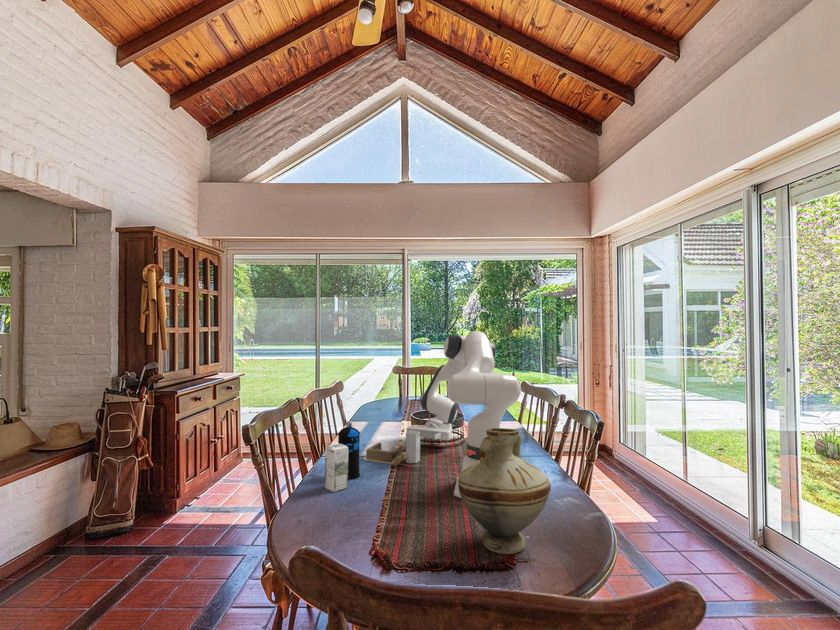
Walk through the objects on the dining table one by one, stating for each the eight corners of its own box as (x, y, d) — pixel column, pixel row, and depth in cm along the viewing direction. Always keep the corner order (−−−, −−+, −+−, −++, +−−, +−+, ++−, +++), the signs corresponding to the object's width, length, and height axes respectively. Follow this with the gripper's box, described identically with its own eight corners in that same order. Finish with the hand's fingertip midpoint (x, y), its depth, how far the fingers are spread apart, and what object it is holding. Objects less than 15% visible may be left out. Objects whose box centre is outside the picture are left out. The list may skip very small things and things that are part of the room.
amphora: (538, 527, 129) (531, 420, 132) (569, 565, 105) (559, 433, 108) (456, 533, 128) (450, 424, 131) (468, 572, 105) (460, 439, 107)
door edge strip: (395, 466, 178) (395, 461, 178) (393, 466, 179) (393, 460, 179) (410, 454, 193) (410, 450, 193) (408, 454, 193) (408, 449, 193)
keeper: (393, 464, 181) (393, 453, 181) (362, 460, 186) (362, 450, 186) (406, 454, 194) (406, 444, 194) (377, 450, 199) (377, 441, 199)
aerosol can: (332, 476, 167) (333, 421, 167) (350, 470, 173) (350, 418, 173) (346, 481, 161) (347, 425, 161) (364, 475, 168) (364, 421, 168)
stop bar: (416, 463, 181) (416, 433, 181) (405, 462, 183) (406, 432, 183) (420, 460, 185) (420, 431, 185) (410, 459, 187) (410, 430, 187)
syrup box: (338, 483, 159) (338, 442, 159) (348, 488, 155) (348, 446, 155) (324, 488, 155) (324, 445, 155) (334, 493, 151) (334, 449, 151)
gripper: (412, 420, 212) (401, 427, 199) (454, 424, 205) (445, 431, 192) (412, 433, 212) (401, 441, 199) (454, 438, 205) (445, 446, 192)
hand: (423, 436), depth 195 cm, fingers open, 8 cm apart
